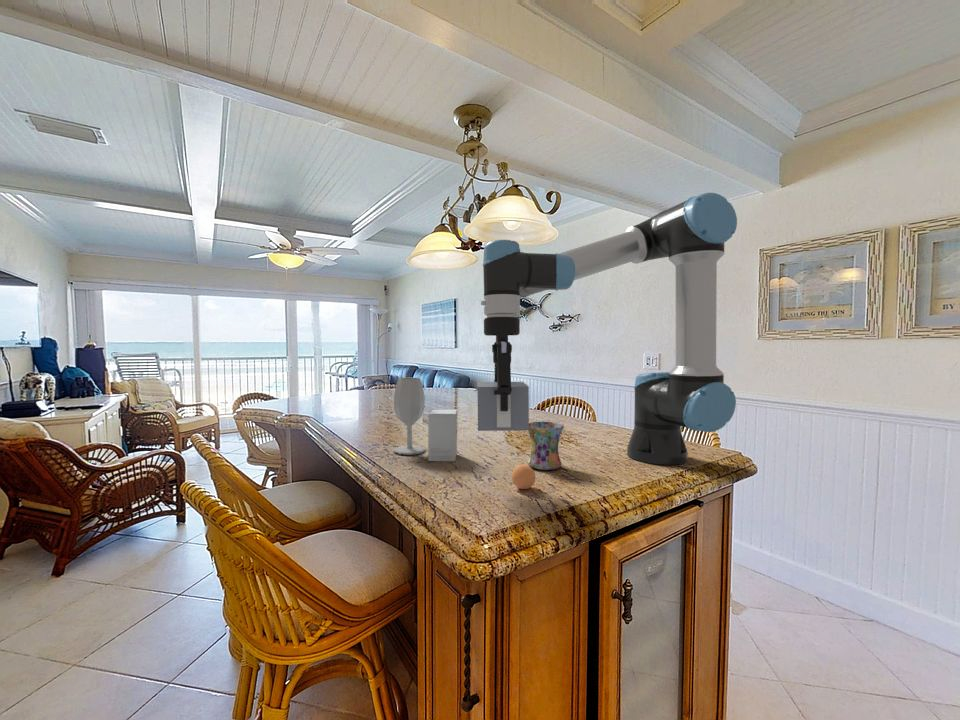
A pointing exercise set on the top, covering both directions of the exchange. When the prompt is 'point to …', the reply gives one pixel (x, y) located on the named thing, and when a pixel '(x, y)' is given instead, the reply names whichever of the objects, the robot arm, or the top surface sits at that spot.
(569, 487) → the top surface
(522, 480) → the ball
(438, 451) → the supplement box
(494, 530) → the top surface
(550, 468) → the mug
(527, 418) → the gray tilted carton
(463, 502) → the top surface
